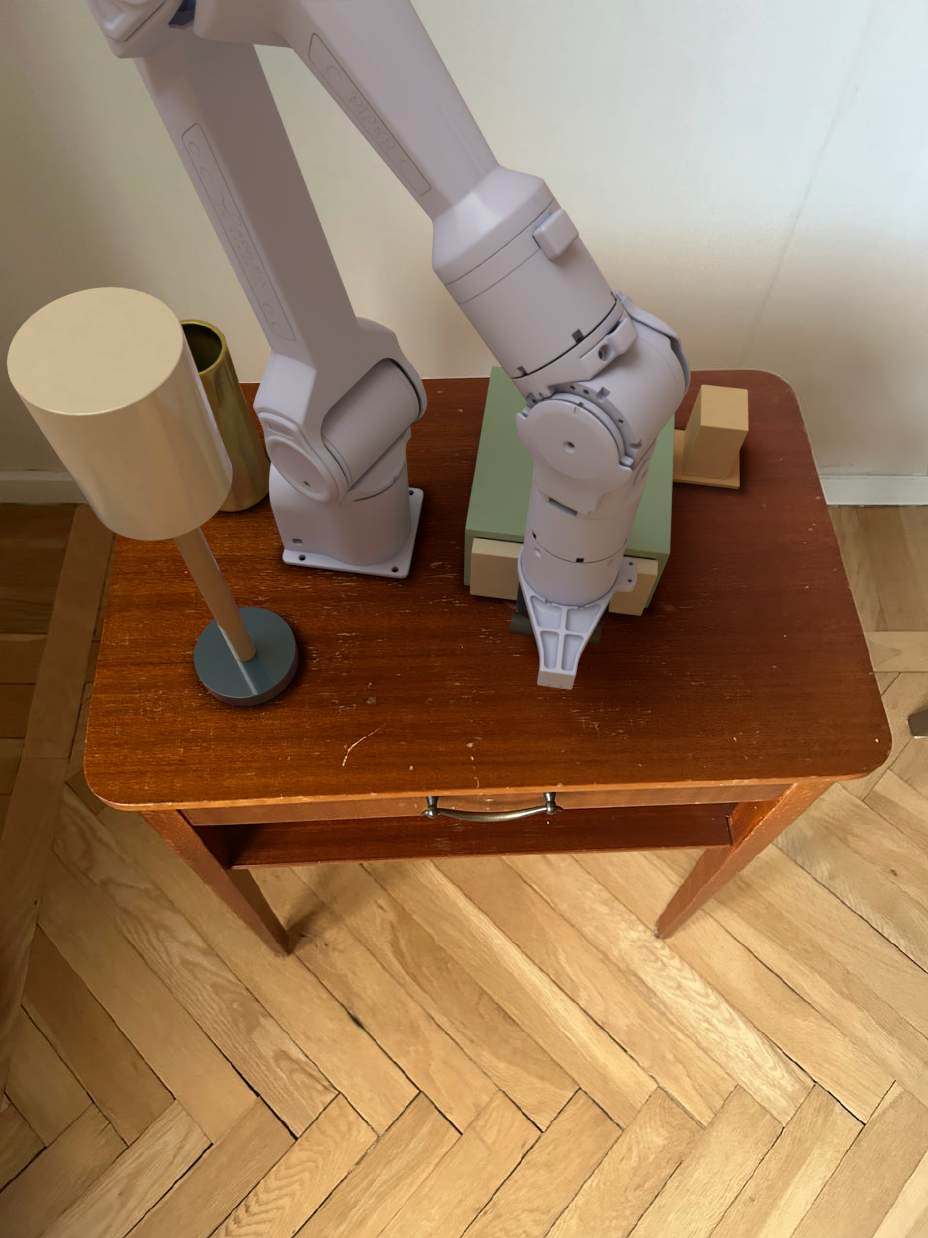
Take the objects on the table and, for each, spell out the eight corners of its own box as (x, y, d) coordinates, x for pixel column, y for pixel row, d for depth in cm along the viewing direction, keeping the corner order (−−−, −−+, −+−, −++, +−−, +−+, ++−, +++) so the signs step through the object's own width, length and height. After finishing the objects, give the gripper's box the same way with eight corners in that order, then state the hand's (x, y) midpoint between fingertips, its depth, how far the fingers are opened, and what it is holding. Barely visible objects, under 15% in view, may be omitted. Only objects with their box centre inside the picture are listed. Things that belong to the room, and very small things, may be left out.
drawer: (638, 670, 61) (655, 633, 56) (461, 647, 62) (462, 608, 56) (648, 466, 69) (664, 417, 64) (492, 448, 70) (495, 398, 65)
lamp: (187, 699, 61) (-22, 403, 34) (214, 610, 64) (43, 277, 37) (286, 712, 60) (153, 424, 34) (308, 623, 63) (204, 295, 37)
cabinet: (647, 608, 64) (670, 553, 57) (463, 585, 65) (465, 528, 58) (654, 451, 71) (676, 386, 64) (488, 432, 72) (492, 365, 65)
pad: (662, 480, 70) (663, 477, 69) (664, 431, 72) (665, 428, 72) (738, 489, 69) (739, 486, 69) (737, 439, 72) (739, 436, 71)
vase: (260, 519, 67) (215, 390, 55) (184, 505, 68) (122, 375, 55) (283, 457, 70) (246, 321, 58) (210, 444, 71) (157, 307, 58)
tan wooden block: (681, 474, 69) (700, 424, 64) (683, 435, 71) (701, 383, 66) (726, 480, 69) (749, 430, 64) (726, 440, 71) (748, 388, 66)
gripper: (646, 645, 44) (604, 745, 56) (657, 429, 51) (618, 558, 63) (507, 626, 45) (495, 729, 56) (537, 414, 52) (521, 545, 63)
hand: (553, 638), depth 60 cm, fingers closed, pressing on drawer
